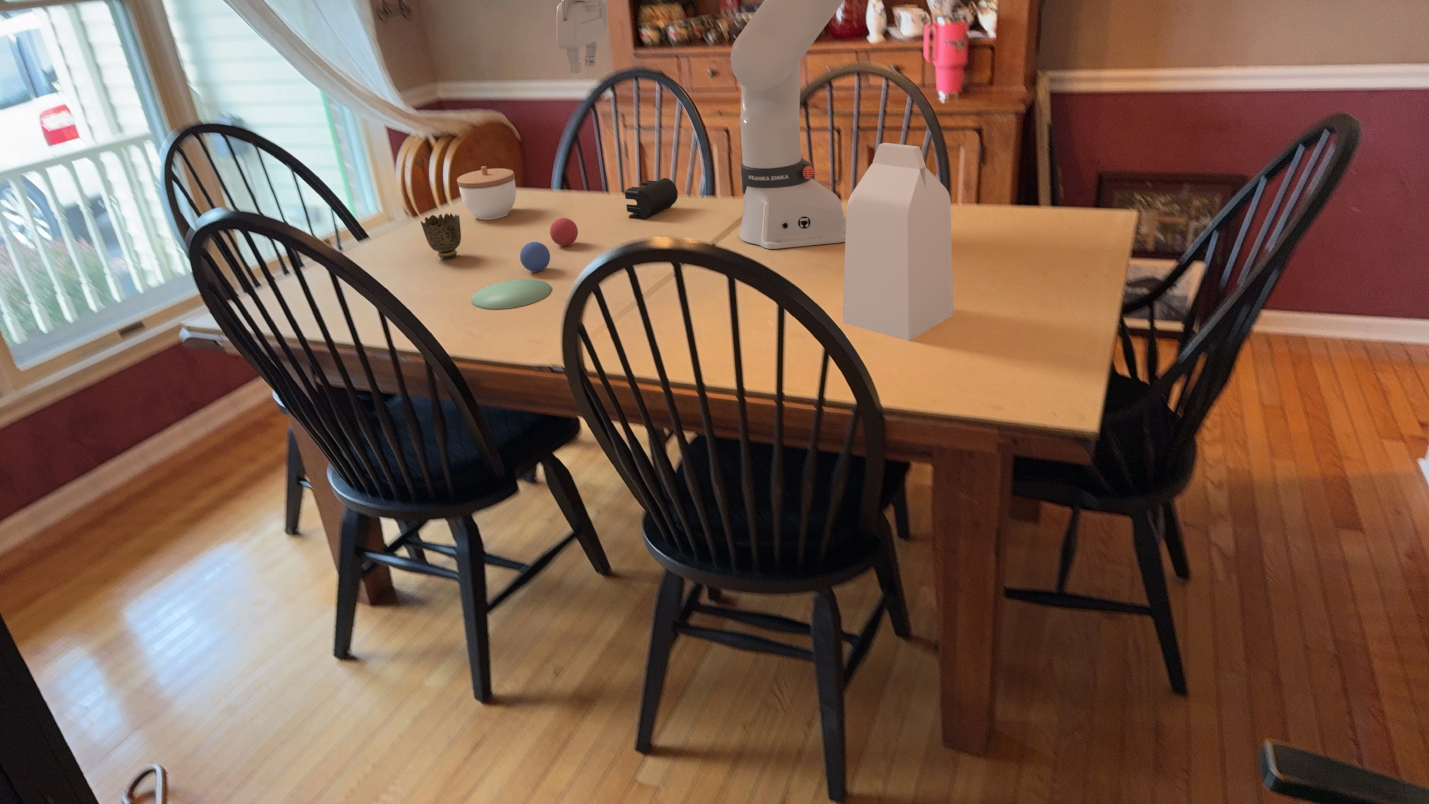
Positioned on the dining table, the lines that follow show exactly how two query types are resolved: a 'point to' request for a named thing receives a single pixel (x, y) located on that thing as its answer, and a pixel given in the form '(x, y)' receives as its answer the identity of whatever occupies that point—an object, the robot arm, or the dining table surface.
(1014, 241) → the dining table surface
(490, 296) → the pale green ellipsoid
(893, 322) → the milk
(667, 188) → the end cap
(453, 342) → the dining table surface
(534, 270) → the navy ball
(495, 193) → the lidded bowl
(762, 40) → the robot arm
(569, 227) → the red rubber ball
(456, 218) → the cup
